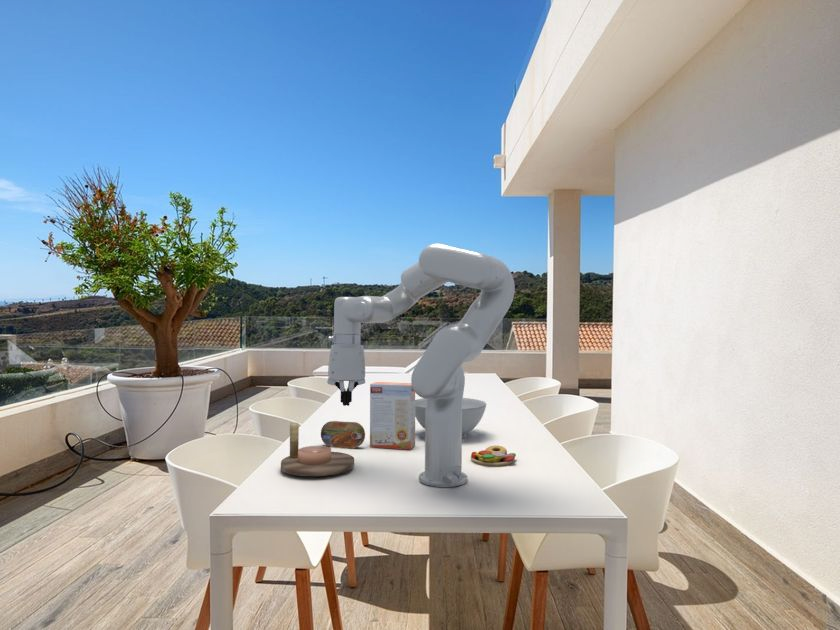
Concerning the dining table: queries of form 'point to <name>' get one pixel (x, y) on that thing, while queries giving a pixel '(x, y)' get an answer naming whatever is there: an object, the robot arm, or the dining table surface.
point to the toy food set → (493, 456)
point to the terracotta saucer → (314, 455)
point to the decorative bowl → (470, 413)
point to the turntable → (292, 466)
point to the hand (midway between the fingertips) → (346, 404)
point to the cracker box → (392, 415)
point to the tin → (342, 434)
